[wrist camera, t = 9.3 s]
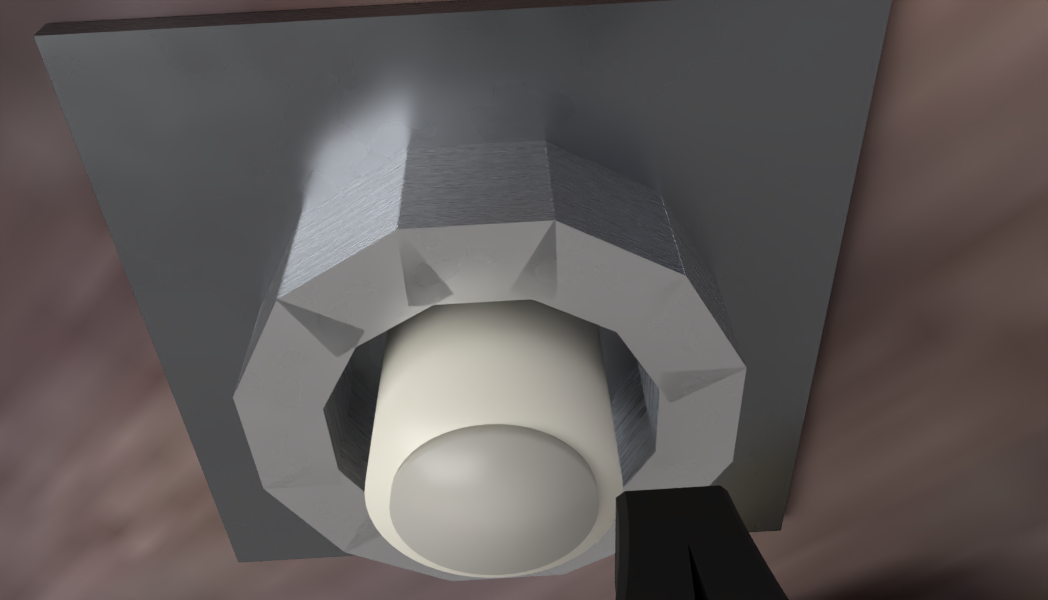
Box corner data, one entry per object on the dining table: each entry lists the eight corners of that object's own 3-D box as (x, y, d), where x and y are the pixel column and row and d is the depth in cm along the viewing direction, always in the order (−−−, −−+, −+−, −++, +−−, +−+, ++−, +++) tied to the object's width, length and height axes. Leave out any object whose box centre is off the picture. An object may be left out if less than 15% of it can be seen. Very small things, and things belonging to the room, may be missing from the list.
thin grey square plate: (883, -24, 17) (963, 52, 14) (775, 514, 27) (810, 621, 24) (46, 24, 17) (-41, 108, 14) (242, 545, 27) (214, 656, 24)
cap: (598, 242, 20) (628, 408, 16) (597, 406, 23) (622, 583, 19) (373, 254, 20) (342, 423, 16) (402, 417, 23) (382, 596, 19)
